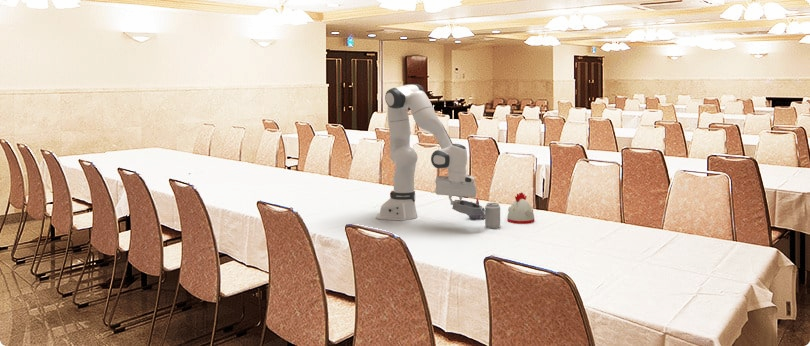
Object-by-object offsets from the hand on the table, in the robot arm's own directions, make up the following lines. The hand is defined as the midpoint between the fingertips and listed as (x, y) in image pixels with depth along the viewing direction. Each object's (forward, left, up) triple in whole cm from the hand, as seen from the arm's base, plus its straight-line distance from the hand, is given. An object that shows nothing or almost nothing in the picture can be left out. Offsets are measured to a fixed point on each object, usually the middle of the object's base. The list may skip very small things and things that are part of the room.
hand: (455, 204), depth 323 cm
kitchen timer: (+32, +21, -13) cm, 40 cm away
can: (+18, +6, -13) cm, 23 cm away
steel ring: (+6, 0, -3) cm, 6 cm away
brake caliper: (+9, +26, -13) cm, 30 cm away
